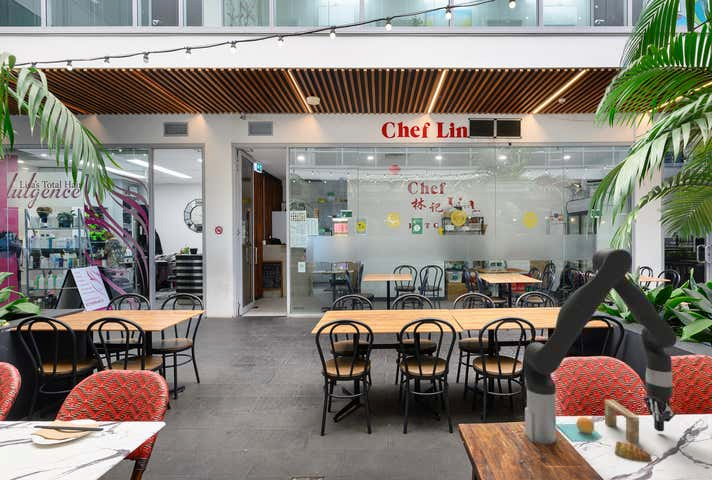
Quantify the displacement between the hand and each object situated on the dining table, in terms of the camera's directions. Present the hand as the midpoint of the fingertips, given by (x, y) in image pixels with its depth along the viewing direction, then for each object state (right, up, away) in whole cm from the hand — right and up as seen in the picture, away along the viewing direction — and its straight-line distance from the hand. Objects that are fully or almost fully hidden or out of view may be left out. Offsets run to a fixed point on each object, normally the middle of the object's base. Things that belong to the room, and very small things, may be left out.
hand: (659, 430), depth 138 cm
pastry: (-20, -2, -13) cm, 24 cm away
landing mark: (-27, -2, +2) cm, 27 cm away
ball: (-25, +1, +2) cm, 25 cm away
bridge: (-13, -2, +1) cm, 13 cm away
